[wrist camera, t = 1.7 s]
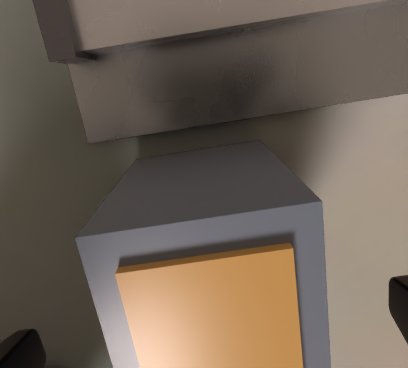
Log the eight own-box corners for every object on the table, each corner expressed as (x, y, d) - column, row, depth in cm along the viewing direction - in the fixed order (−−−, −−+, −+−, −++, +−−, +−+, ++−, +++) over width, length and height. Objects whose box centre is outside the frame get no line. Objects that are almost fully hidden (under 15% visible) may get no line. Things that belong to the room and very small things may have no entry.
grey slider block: (274, 271, 15) (337, 434, 8) (164, 287, 15) (135, 459, 8) (260, 140, 13) (327, 205, 6) (136, 159, 13) (69, 243, 7)
